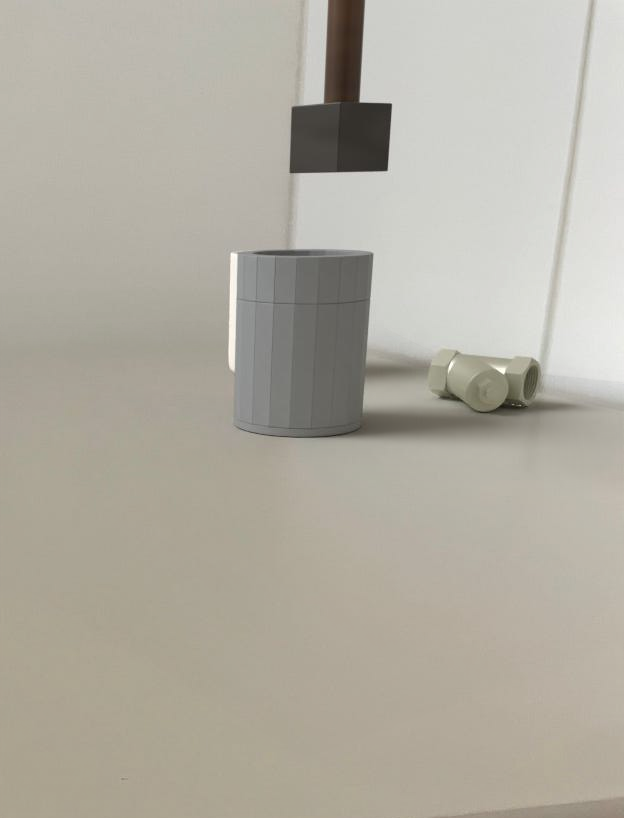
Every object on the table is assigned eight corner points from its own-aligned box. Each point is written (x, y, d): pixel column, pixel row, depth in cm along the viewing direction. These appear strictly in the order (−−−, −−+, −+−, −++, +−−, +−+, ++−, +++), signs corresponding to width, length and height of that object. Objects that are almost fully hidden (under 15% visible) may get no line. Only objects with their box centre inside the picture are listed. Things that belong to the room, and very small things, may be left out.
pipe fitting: (499, 422, 81) (538, 402, 86) (503, 370, 80) (543, 353, 84) (405, 409, 86) (446, 391, 91) (408, 360, 85) (449, 344, 89)
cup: (331, 408, 85) (340, 247, 80) (382, 432, 77) (396, 255, 72) (217, 414, 83) (220, 250, 78) (257, 440, 75) (263, 258, 70)
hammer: (339, 172, 64) (354, -139, 58) (388, 171, 61) (409, -157, 55) (288, 173, 62) (299, -149, 56) (337, 172, 59) (353, -169, 53)
